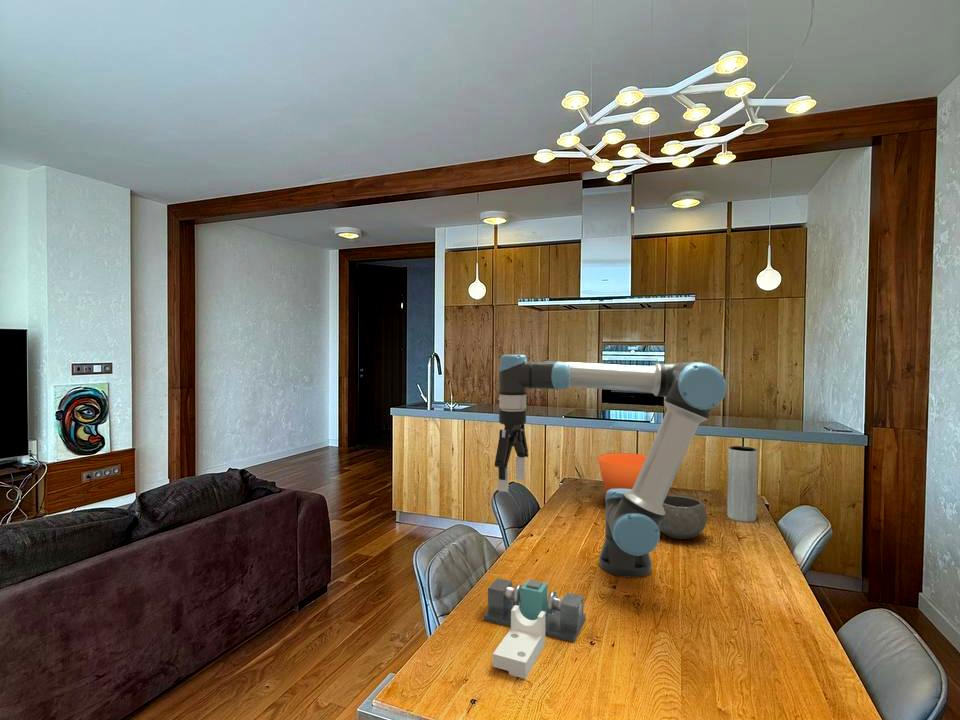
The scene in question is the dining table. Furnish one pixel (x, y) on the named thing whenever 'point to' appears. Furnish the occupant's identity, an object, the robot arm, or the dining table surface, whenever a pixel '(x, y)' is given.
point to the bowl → (683, 517)
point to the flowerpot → (620, 469)
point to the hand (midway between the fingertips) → (512, 485)
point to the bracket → (521, 644)
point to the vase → (742, 483)
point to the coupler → (533, 599)
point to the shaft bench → (560, 616)
